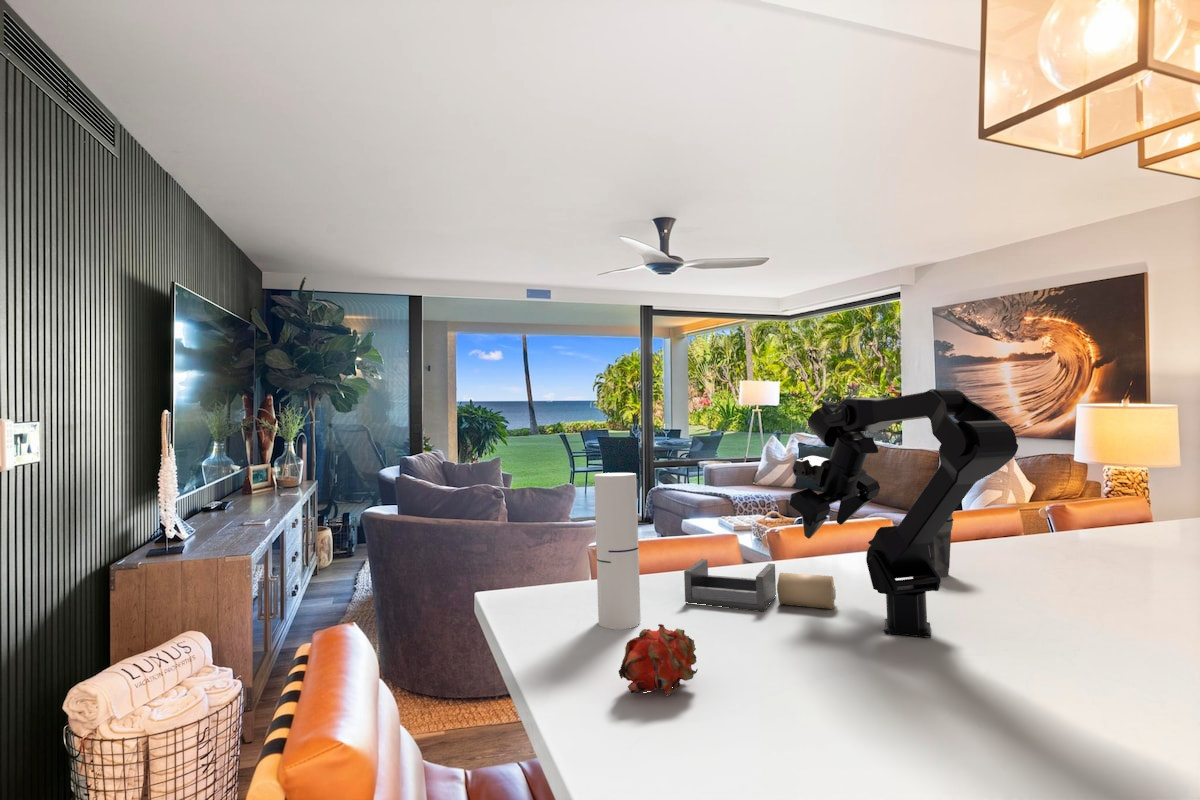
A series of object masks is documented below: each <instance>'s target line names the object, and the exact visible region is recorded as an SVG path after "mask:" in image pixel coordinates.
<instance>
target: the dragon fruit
mask: <svg viewBox="0 0 1200 800" xmlns="http://www.w3.org/2000/svg"><path fill="white" fill-rule="evenodd" d="M657 626H658V627H659V628H658V629H657V630H651V629H646V628H644V629H642V630H641V631H640V632H639V634H638V637H634V638H632V639H629V640H628V641H627V643H626V644H625V648H624V650H625V651H624V656H623V659H622V662H621V665H620V669H619V670H618V675H619V677H620V679H621V680H622V679H623V678H624V679H625V680H626V681H628V682H629V681H631V683H629V684H628V686H627V689H628V690H629V691H630V693H631V694H635V693H640V694H644V693H643V692H647V691H652V692H653V691H655V690H664V695H665V694H666V695H669V694H670V695H671V694H672V693H674V692H676V690H677V689H678V688H679V687H680V686H681V681H684V682H685V681H686V682H687V681H689V680H692V679H693V678H694V675H696V674H697V673H698V670H699V669H698V668H696V670H694V669H693V668H692V666H693V665H695V664H696V663H697V655H696V654H695V651H696V650H697V648H696V644H695V639H692V638H690V636H689V635H686V634H685V632H686V631H685V630H684V629H681V628H675V629H674V630H672V629H670V630H669V629H668V628H666V627H665V625H664V624H662V623H659V624H657ZM672 687H673V688H672ZM666 695H665V696H666ZM670 695H669V696H670Z"/></svg>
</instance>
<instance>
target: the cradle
mask: <svg viewBox="0 0 1200 800" xmlns="http://www.w3.org/2000/svg"><path fill="white" fill-rule="evenodd" d="M708 567H709V565H708V559H704V558H703V559H702V558H701V559H700V560H698V561H697V562H695V563H694V564H693V565H691V566H690V567H688V568H687V569H685V570H684V572H683V574H684V602H688V603H697V604H706V605H712V606H722V607H729V608H728V609H733V608H738V609H737V610H743V609H748V610H747V611H753V610H758V611H757V612H765V611H766V610H765V609H767V608H768V607H769V606H770V604H771V603H772V602H773V601H774V599H775V598H776V597H775V595H776V596H777V584H776V582H777V581H776V563H768V564H766V565H765V566H764V568H762V570H760V572H759V573H758V574H757V575H756V576H755V578H751V577H737V576H736V577H735V576H725V575H724V576H723V575H721V576H720V575H713V574H712V575H709V568H708ZM774 597H775V598H774ZM773 598H774V599H773ZM772 600H773V601H772ZM771 601H772V602H771ZM770 602H771V603H770ZM769 603H770V604H769ZM768 605H769V606H768ZM712 606H711V607H712ZM767 606H768V607H767ZM722 607H721V608H722ZM766 607H767V608H766ZM764 610H765V611H764Z"/></svg>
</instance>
